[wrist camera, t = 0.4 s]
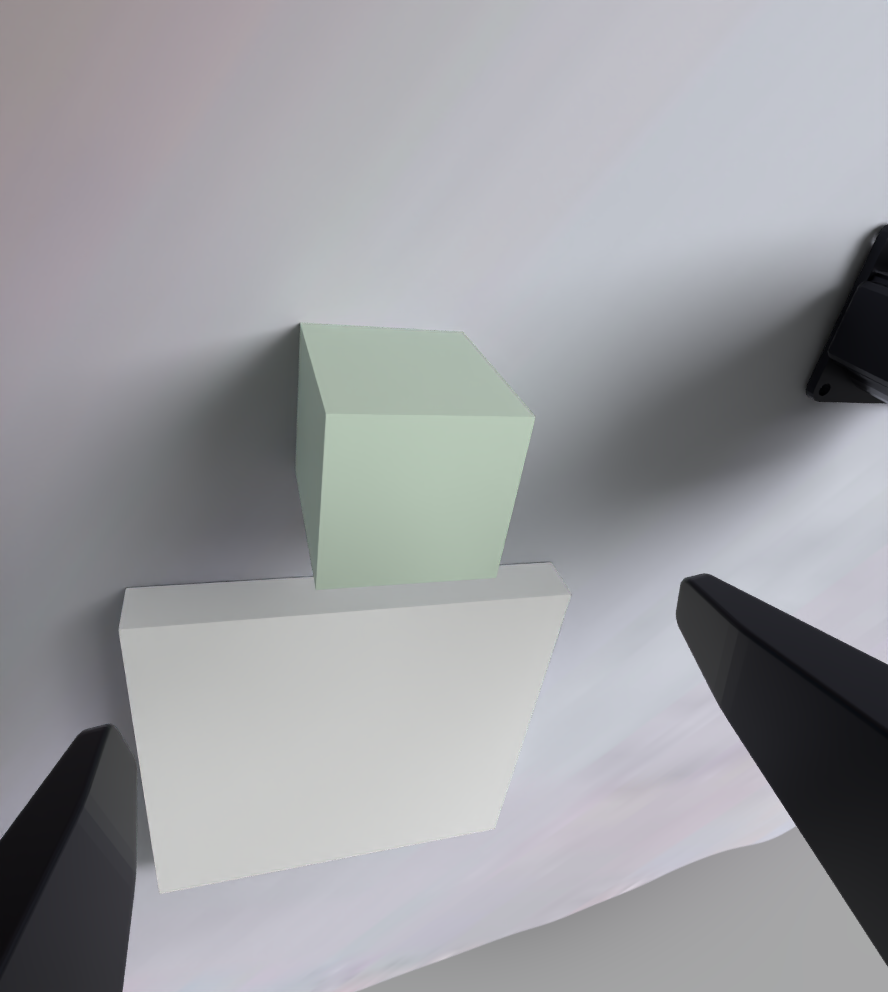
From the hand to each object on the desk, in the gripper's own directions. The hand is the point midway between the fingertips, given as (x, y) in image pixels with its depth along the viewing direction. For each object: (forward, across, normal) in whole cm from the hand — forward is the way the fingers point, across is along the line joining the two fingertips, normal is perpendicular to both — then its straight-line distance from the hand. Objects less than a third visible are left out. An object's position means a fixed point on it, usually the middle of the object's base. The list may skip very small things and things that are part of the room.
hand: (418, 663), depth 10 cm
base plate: (+12, +3, +16) cm, 20 cm away
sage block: (+12, -1, +2) cm, 12 cm away
